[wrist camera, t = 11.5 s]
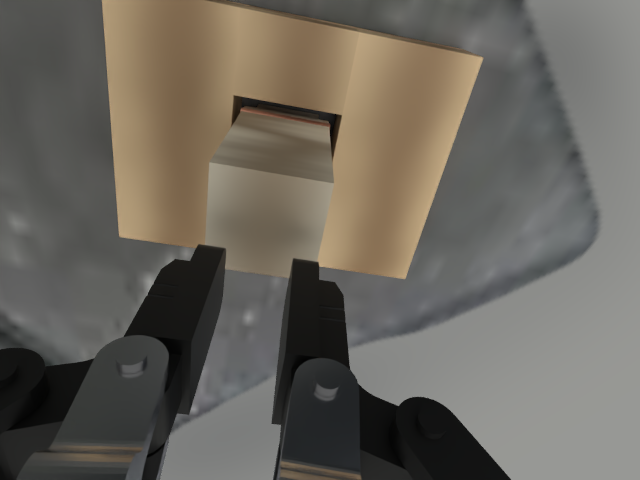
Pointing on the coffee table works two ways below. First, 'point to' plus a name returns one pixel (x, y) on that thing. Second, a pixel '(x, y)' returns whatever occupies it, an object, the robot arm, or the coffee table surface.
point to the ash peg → (270, 190)
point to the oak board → (289, 89)
